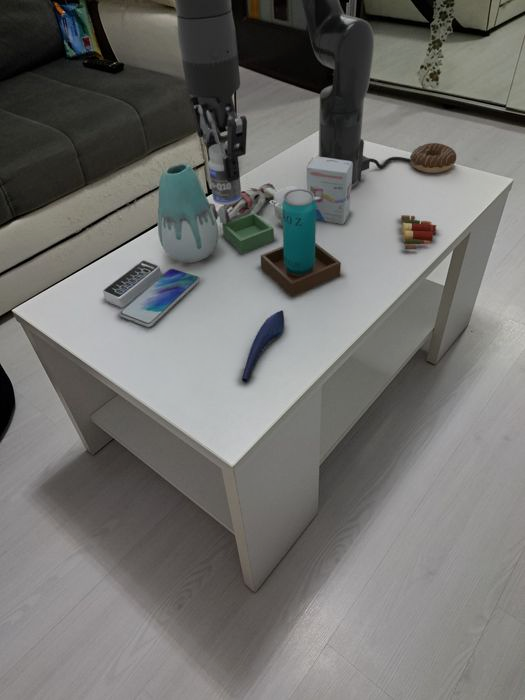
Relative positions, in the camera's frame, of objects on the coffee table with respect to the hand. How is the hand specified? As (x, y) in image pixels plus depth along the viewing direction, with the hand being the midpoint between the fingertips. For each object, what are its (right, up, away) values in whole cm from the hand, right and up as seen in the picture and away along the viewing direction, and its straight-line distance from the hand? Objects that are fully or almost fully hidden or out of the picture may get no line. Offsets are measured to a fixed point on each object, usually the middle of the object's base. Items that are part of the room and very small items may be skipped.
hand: (224, 172), depth 78 cm
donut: (+47, +17, +42) cm, 65 cm away
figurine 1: (+3, +2, +31) cm, 31 cm away
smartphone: (-12, -19, +12) cm, 25 cm away
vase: (-8, -8, +22) cm, 25 cm away
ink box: (+20, +1, +29) cm, 35 cm away
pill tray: (+3, -5, +24) cm, 25 cm away
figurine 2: (+12, -1, +28) cm, 30 cm away
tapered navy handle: (+6, -28, +2) cm, 29 cm away
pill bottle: (0, -3, +3) cm, 5 cm away
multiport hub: (-18, -16, +15) cm, 29 cm away
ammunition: (+34, -4, +21) cm, 40 cm away
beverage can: (+13, -13, +15) cm, 24 cm away
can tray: (+13, -13, +15) cm, 24 cm away
